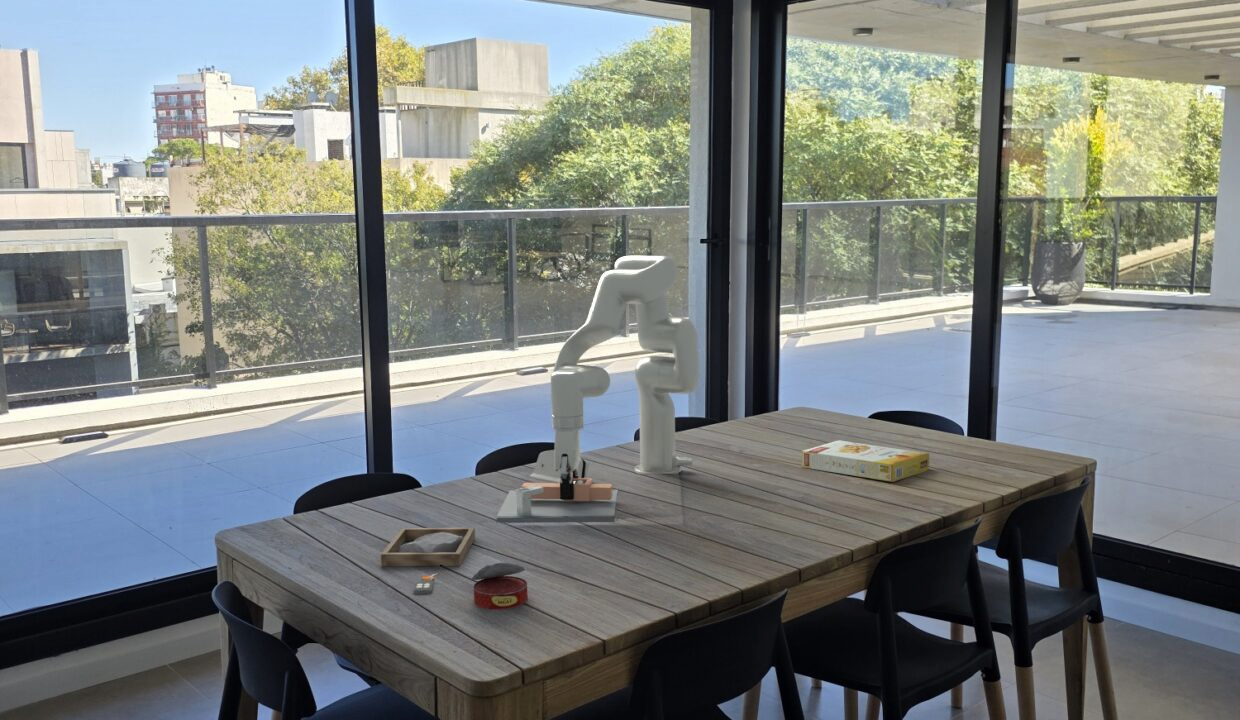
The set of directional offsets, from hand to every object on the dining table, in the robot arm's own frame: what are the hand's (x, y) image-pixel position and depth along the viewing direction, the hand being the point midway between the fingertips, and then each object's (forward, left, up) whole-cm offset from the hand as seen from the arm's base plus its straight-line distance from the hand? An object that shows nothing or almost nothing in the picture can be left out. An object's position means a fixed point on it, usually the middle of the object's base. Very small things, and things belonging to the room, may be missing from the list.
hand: (569, 495), depth 258 cm
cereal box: (-77, -37, -4) cm, 86 cm away
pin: (-2, 0, -3) cm, 4 cm away
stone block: (+27, +34, -4) cm, 44 cm away
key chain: (+24, +52, -4) cm, 57 cm away
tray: (+27, +33, -3) cm, 43 cm away
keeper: (+8, +9, -3) cm, 13 cm away
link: (+1, 0, -1) cm, 1 cm away
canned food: (+8, +61, -3) cm, 62 cm away
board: (+2, +1, -3) cm, 4 cm away
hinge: (+4, -22, -3) cm, 23 cm away
